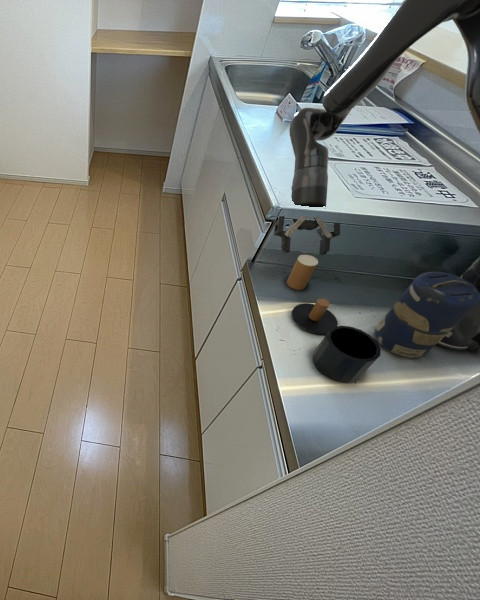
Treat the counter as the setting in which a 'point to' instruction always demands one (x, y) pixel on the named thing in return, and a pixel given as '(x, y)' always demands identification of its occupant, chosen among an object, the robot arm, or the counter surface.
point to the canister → (426, 313)
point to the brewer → (346, 354)
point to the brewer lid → (314, 317)
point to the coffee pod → (302, 272)
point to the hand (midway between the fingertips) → (304, 253)
